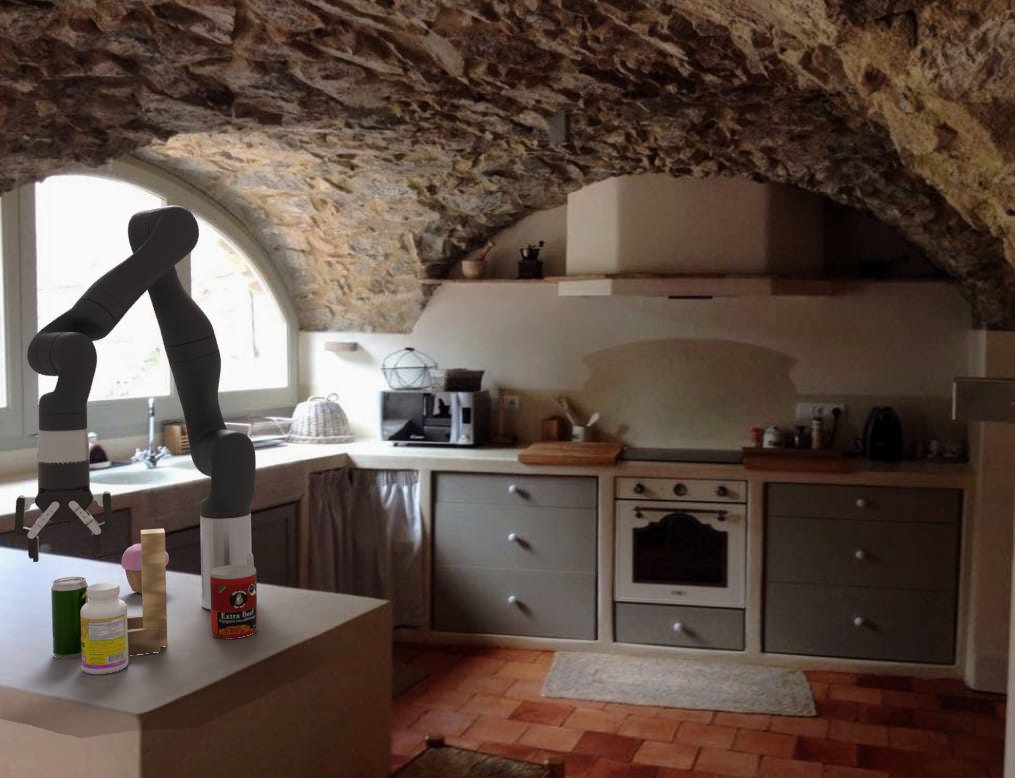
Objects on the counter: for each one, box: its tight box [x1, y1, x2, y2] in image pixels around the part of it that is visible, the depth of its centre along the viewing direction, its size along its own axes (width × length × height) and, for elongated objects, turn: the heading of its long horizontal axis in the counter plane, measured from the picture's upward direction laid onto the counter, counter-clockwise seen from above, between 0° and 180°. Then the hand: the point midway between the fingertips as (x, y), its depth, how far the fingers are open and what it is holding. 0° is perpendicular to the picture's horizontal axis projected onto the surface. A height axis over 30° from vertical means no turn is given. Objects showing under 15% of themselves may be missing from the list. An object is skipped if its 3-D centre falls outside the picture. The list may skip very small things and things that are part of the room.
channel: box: [127, 614, 161, 657], centre depth 163 cm, size 10×9×4 cm
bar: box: [140, 528, 168, 648], centre depth 164 cm, size 4×4×19 cm
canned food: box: [210, 565, 258, 640], centre depth 171 cm, size 8×8×11 cm
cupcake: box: [121, 542, 170, 595], centre depth 198 cm, size 9×9×10 cm
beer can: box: [50, 576, 89, 660], centre depth 160 cm, size 5×5×12 cm
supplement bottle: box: [81, 582, 129, 675], centre depth 153 cm, size 7×7×13 cm
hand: (65, 559), depth 159 cm, fingers open, 8 cm apart
